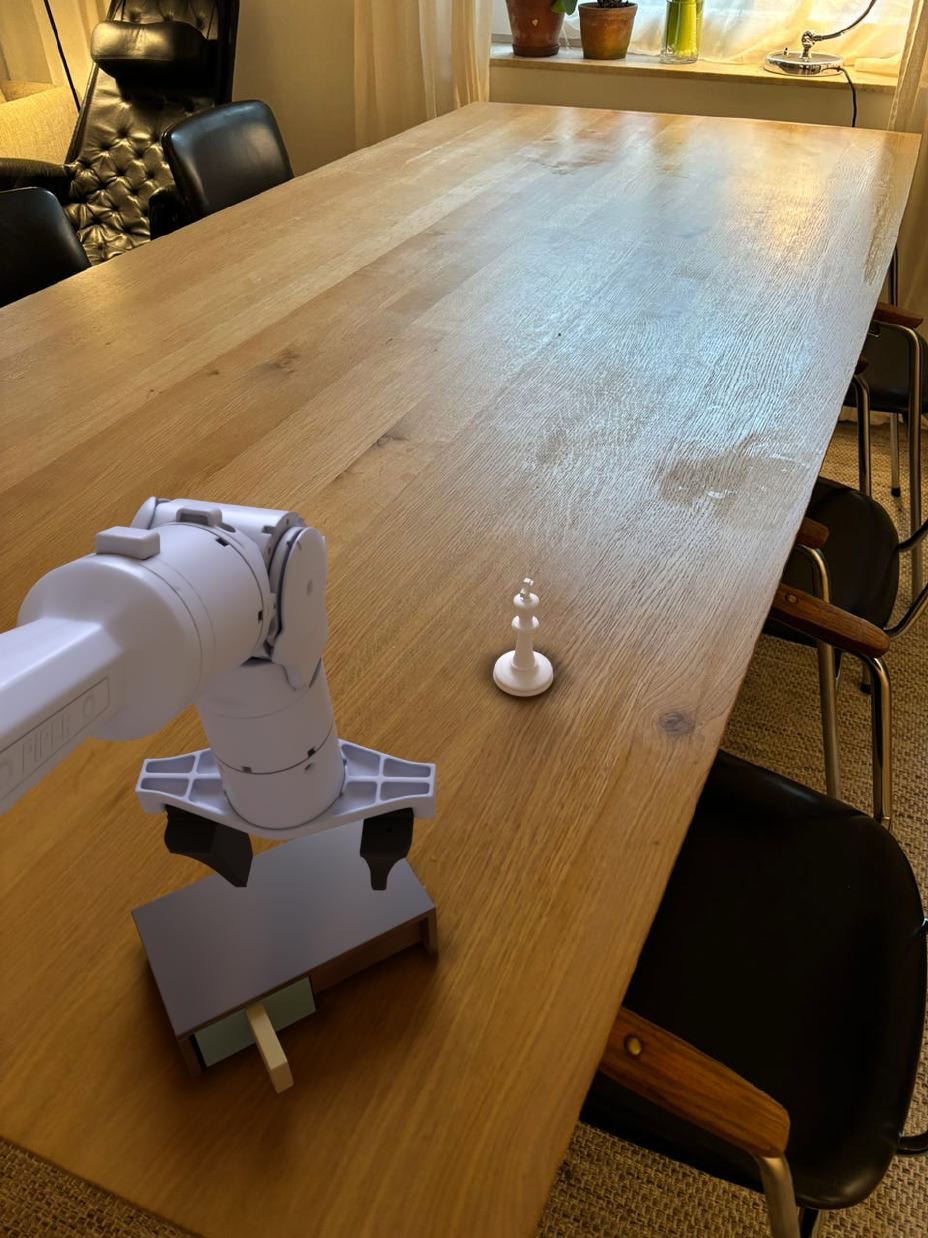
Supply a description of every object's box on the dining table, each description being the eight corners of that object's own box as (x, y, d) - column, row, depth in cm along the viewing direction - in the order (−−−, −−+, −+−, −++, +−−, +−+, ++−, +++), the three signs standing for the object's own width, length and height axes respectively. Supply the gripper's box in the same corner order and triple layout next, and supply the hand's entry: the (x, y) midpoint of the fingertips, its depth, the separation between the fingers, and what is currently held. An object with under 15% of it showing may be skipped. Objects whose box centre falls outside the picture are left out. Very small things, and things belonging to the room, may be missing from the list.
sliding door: (230, 1131, 54) (218, 1099, 52) (203, 1059, 57) (190, 1025, 55) (343, 1069, 57) (337, 1036, 54) (312, 1003, 60) (304, 968, 57)
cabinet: (193, 1079, 57) (175, 1037, 53) (148, 955, 63) (130, 910, 59) (438, 952, 63) (436, 907, 59) (376, 849, 69) (371, 803, 65)
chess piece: (561, 665, 82) (569, 570, 76) (540, 704, 79) (545, 608, 72) (507, 648, 84) (509, 554, 77) (483, 686, 81) (484, 590, 74)
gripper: (434, 657, 47) (446, 812, 57) (136, 654, 48) (199, 808, 58) (424, 781, 43) (439, 927, 52) (93, 775, 43) (169, 921, 53)
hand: (312, 872), depth 55 cm, fingers open, 7 cm apart
